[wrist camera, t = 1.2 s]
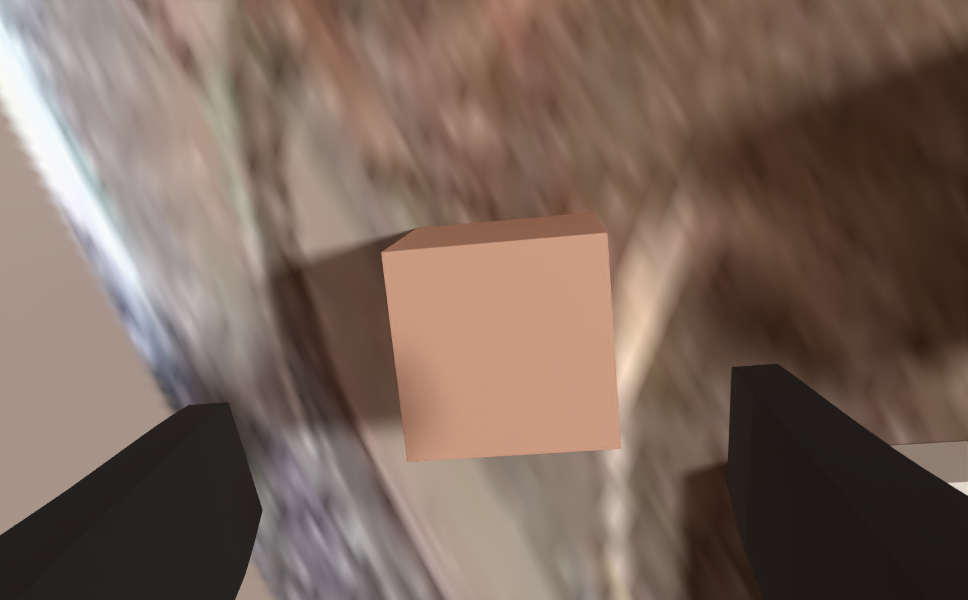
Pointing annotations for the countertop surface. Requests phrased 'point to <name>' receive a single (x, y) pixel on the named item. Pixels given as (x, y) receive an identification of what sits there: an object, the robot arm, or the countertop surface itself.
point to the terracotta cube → (504, 338)
